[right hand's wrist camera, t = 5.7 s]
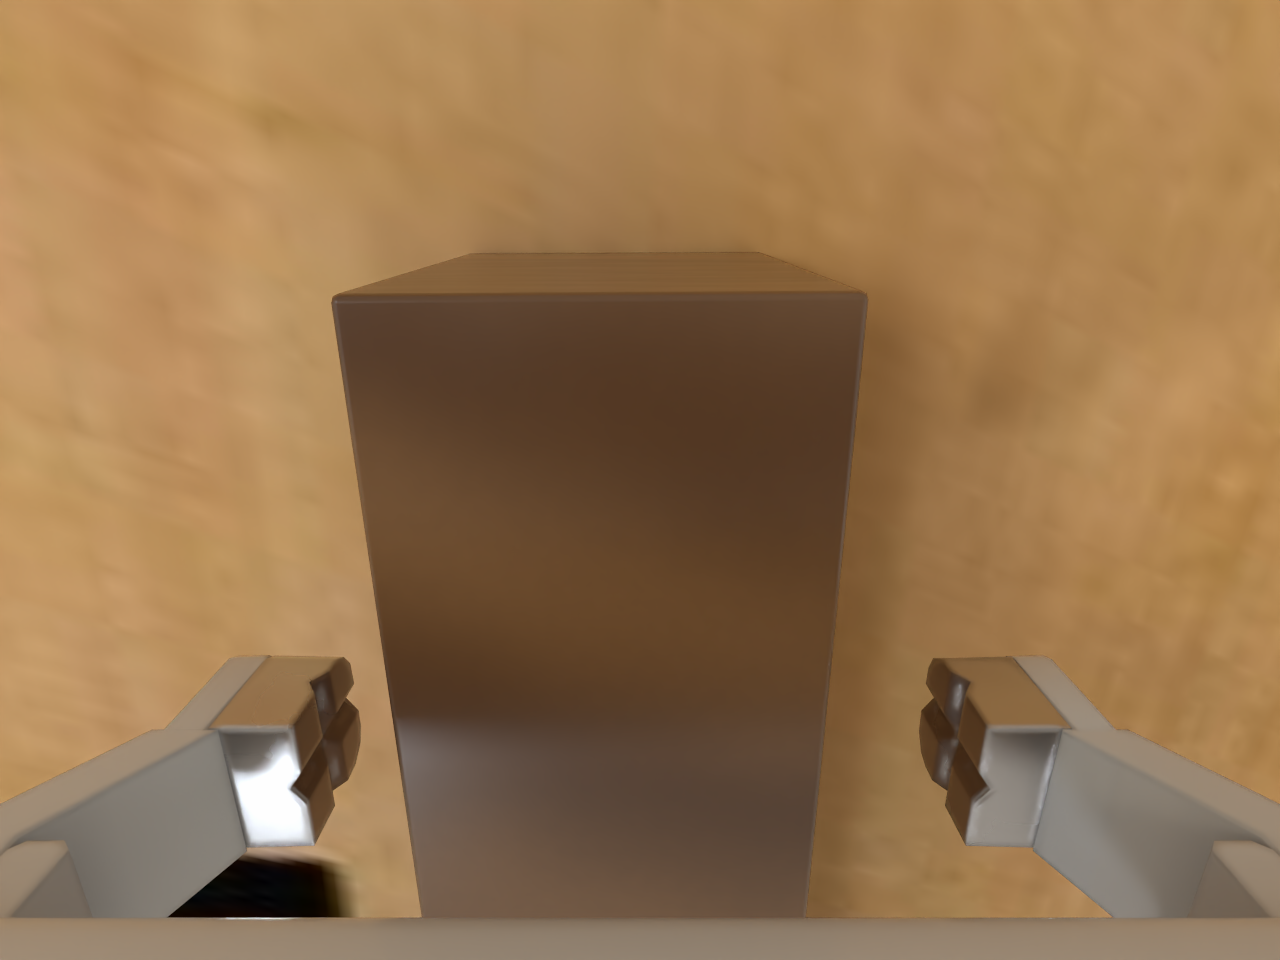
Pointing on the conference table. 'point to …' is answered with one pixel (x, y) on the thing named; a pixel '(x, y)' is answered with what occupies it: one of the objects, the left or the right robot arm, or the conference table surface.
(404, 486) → the beam
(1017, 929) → the right robot arm
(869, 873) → the conference table surface
